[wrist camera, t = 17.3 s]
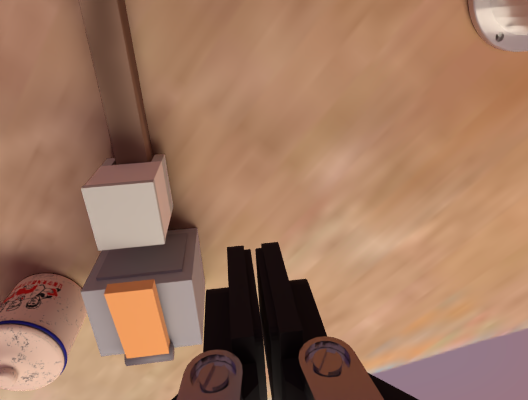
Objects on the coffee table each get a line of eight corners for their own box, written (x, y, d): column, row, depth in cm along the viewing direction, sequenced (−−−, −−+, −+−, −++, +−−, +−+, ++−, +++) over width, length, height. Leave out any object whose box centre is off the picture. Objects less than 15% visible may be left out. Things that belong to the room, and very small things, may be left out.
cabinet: (196, 225, 44) (191, 277, 35) (205, 283, 47) (202, 344, 38) (108, 234, 43) (79, 289, 34) (123, 292, 47) (101, 356, 38)
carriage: (164, 153, 39) (153, 182, 32) (174, 206, 41) (164, 244, 34) (106, 158, 38) (80, 188, 31) (119, 211, 41) (98, 250, 34)
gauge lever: (156, 277, 33) (154, 290, 32) (174, 349, 38) (173, 363, 37) (105, 282, 33) (100, 296, 32) (130, 355, 38) (127, 369, 37)
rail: (119, -96, 31) (104, -114, 27) (174, 226, 44) (170, 246, 40) (56, -94, 30) (31, -112, 26) (130, 230, 43) (121, 251, 39)
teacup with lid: (68, 260, 44) (21, 334, 33) (104, 317, 48) (72, 399, 37) (-29, 291, 44) (-105, 373, 34) (15, 344, 48) (-41, 434, 38)
